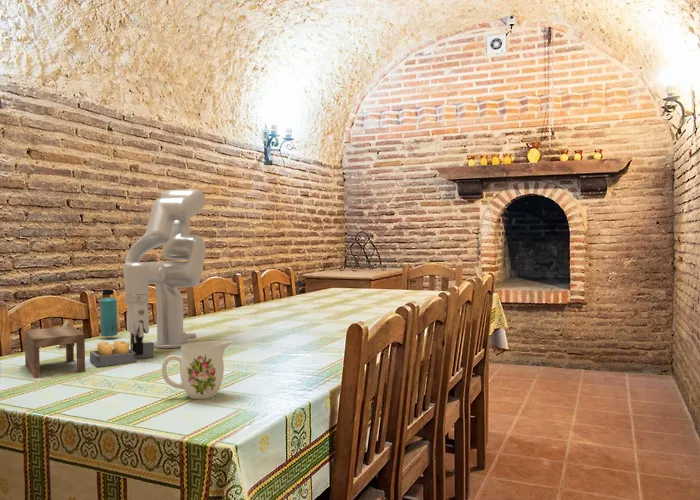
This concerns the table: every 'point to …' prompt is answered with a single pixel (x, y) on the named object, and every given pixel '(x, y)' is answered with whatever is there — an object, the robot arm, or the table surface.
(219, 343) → the pitcher
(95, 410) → the table surface
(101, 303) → the beverage bottle
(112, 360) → the tray
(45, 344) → the brown wooden footstool
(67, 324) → the chocolate bunny
